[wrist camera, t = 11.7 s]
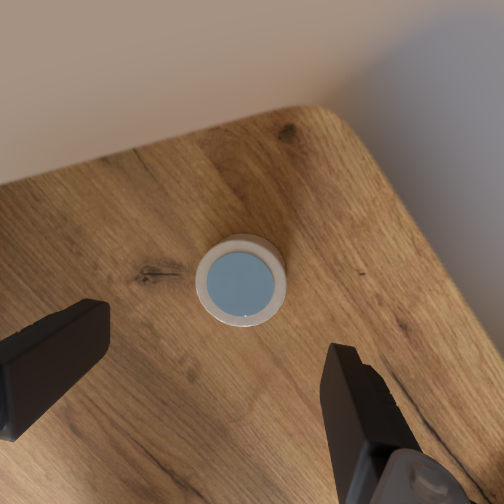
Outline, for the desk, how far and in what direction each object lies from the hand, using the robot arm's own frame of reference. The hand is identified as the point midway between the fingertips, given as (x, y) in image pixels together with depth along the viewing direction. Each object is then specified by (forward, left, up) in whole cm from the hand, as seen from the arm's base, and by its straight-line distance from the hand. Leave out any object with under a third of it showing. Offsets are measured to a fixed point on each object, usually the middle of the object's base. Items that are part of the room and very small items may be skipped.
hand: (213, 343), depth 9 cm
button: (0, 0, -8) cm, 8 cm away
